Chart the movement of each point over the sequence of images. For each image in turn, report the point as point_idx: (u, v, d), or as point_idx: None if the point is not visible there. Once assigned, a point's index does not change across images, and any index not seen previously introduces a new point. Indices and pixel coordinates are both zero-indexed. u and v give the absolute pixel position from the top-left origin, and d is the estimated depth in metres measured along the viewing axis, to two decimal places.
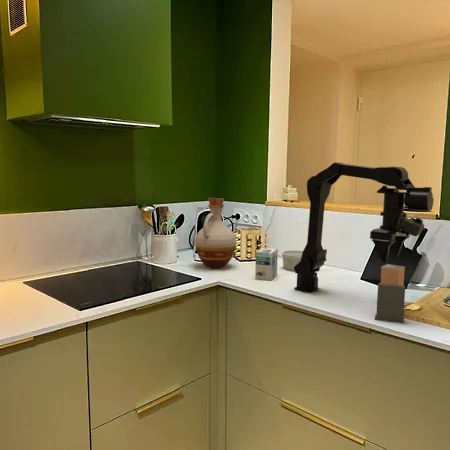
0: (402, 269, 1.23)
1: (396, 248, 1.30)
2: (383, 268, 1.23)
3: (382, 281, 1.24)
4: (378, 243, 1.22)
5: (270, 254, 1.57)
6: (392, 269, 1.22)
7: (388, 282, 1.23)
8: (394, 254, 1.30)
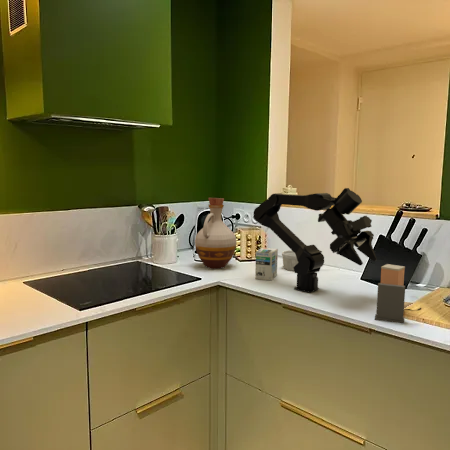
0: (402, 269, 1.23)
1: (369, 252, 1.34)
2: (383, 268, 1.23)
3: (382, 281, 1.24)
4: (344, 252, 1.28)
5: (270, 254, 1.57)
6: (392, 269, 1.22)
7: (388, 282, 1.23)
8: (372, 258, 1.33)
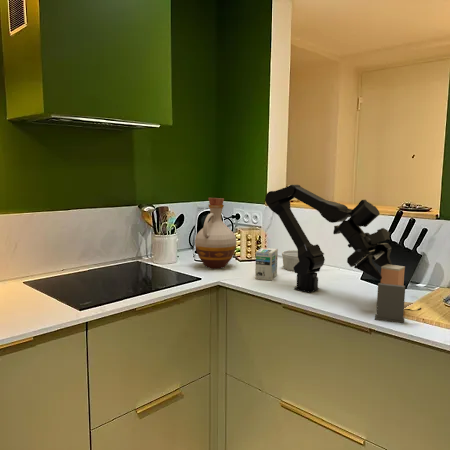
0: (402, 269, 1.23)
1: None
2: (383, 268, 1.23)
3: (382, 281, 1.24)
4: (362, 267, 1.24)
5: (270, 254, 1.57)
6: (392, 269, 1.22)
7: (388, 282, 1.23)
8: None
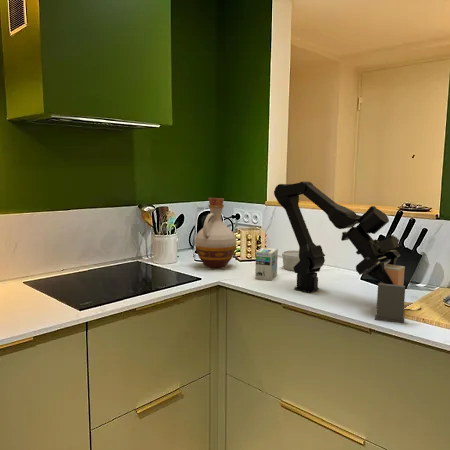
0: (402, 269, 1.23)
1: None
2: None
3: None
4: (373, 273, 1.24)
5: (270, 254, 1.57)
6: (392, 269, 1.22)
7: None
8: None
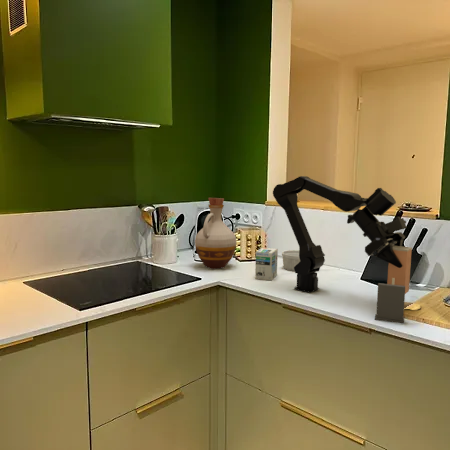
0: (410, 250, 1.23)
1: None
2: None
3: None
4: (382, 255, 1.23)
5: (270, 254, 1.57)
6: (400, 250, 1.22)
7: None
8: None
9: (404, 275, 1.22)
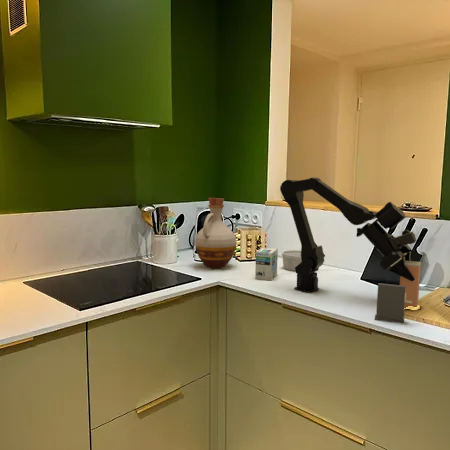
0: (420, 265, 1.26)
1: None
2: None
3: (402, 277, 1.26)
4: (394, 269, 1.25)
5: (270, 254, 1.57)
6: (412, 265, 1.24)
7: None
8: None
9: (416, 290, 1.25)
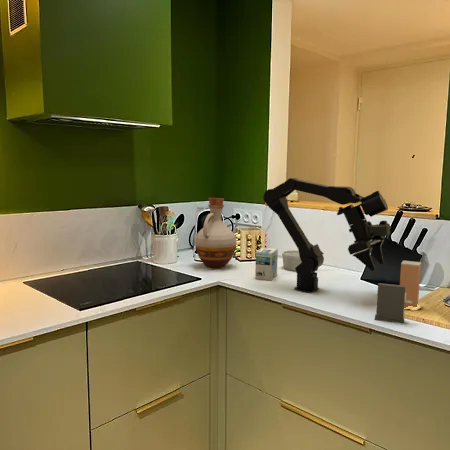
0: (420, 265, 1.27)
1: (377, 255, 1.38)
2: (403, 265, 1.26)
3: (402, 277, 1.27)
4: (359, 256, 1.31)
5: (270, 254, 1.57)
6: (412, 265, 1.25)
7: (408, 278, 1.26)
8: (379, 260, 1.38)
9: (416, 290, 1.25)
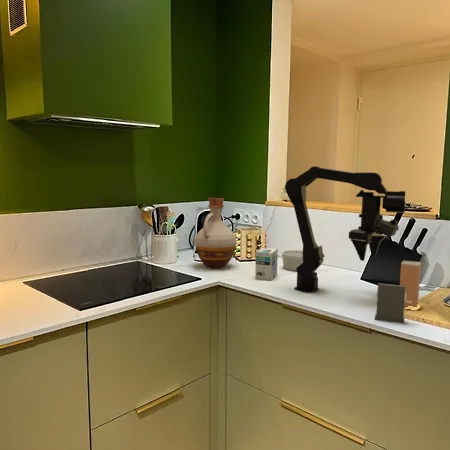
0: (420, 265, 1.27)
1: (373, 247, 1.40)
2: (403, 265, 1.26)
3: (402, 277, 1.27)
4: (356, 243, 1.33)
5: (270, 254, 1.57)
6: (412, 265, 1.25)
7: (408, 278, 1.26)
8: (372, 253, 1.41)
9: (416, 290, 1.25)
